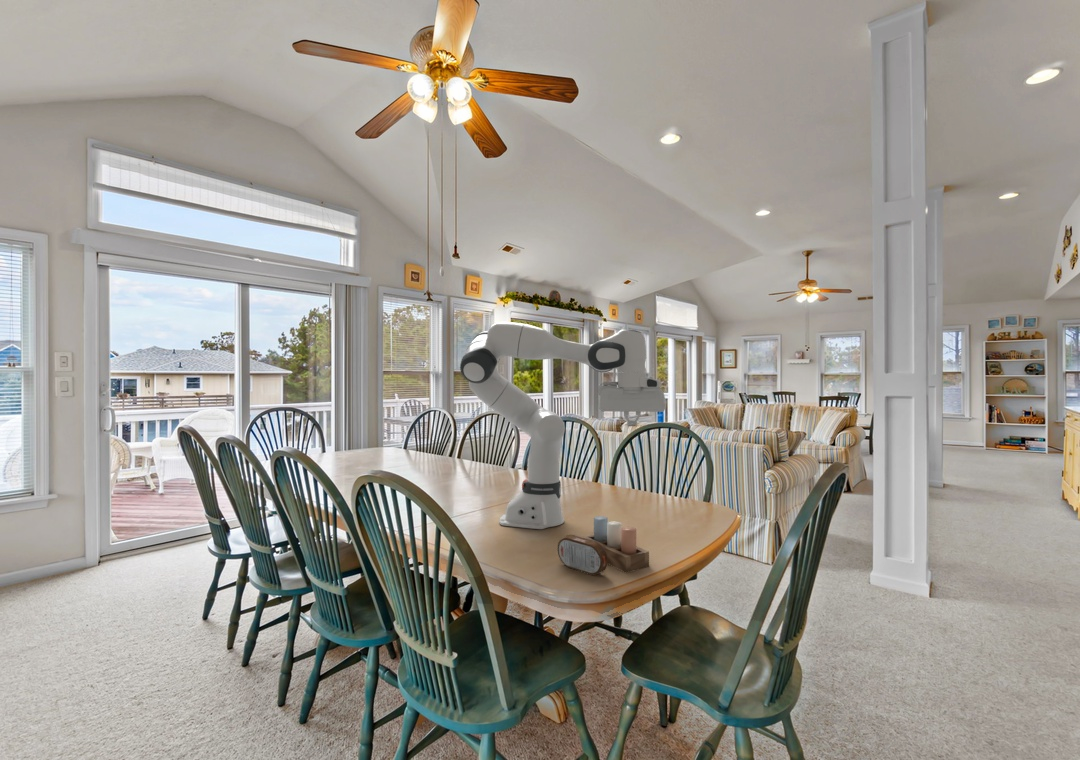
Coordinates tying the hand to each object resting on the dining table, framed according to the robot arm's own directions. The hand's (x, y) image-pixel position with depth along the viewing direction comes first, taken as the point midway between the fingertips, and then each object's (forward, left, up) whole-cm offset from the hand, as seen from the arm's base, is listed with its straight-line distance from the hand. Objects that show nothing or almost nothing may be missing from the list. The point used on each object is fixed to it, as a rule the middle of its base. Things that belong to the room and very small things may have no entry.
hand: (632, 426), depth 157 cm
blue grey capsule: (-9, -13, -33) cm, 37 cm away
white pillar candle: (-6, -18, -33) cm, 38 cm away
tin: (-14, -27, -35) cm, 47 cm away
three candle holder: (-6, -17, -35) cm, 40 cm away
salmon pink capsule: (-2, -22, -33) cm, 40 cm away
